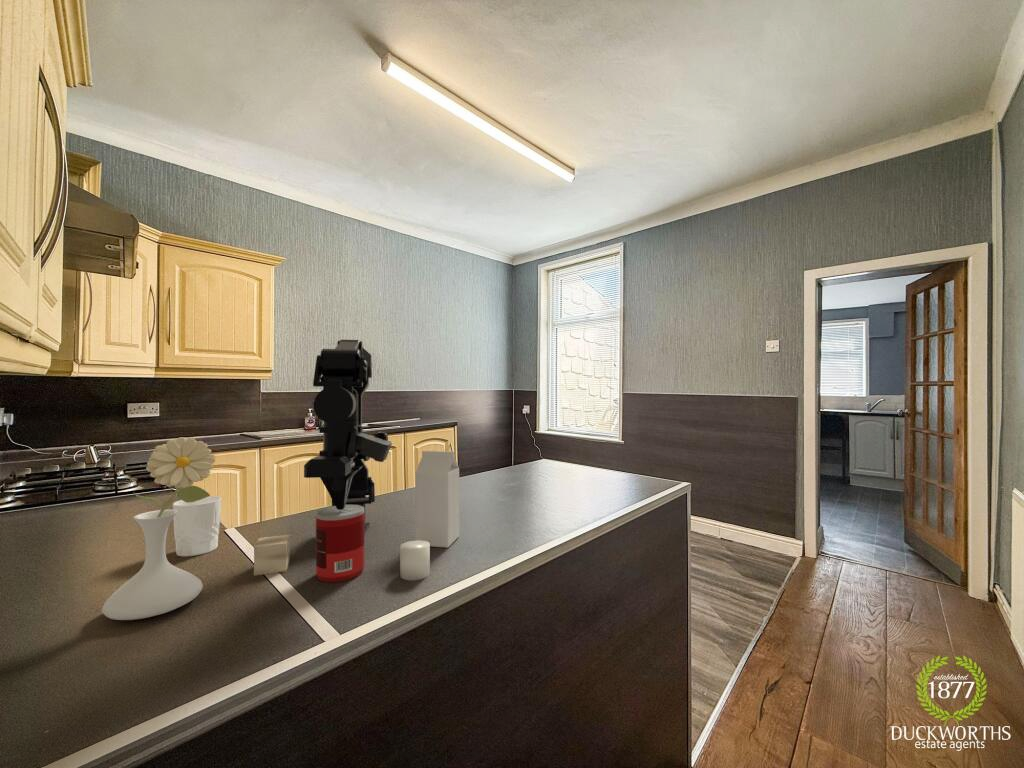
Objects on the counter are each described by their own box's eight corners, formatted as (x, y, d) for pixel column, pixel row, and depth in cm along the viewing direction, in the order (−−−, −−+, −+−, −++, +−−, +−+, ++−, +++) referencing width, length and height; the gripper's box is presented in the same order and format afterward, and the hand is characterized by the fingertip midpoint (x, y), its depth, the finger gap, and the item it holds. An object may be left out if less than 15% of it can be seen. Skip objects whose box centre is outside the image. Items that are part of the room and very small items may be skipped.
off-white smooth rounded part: (402, 569, 77) (402, 541, 77) (430, 567, 77) (430, 539, 77) (398, 581, 72) (398, 551, 72) (428, 579, 72) (428, 549, 72)
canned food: (373, 567, 77) (373, 506, 78) (342, 586, 70) (342, 518, 70) (339, 561, 80) (339, 502, 80) (305, 579, 72) (305, 514, 73)
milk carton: (448, 548, 86) (448, 454, 87) (415, 546, 88) (415, 453, 88) (459, 536, 93) (459, 449, 94) (429, 534, 95) (428, 448, 95)
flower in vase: (84, 637, 56) (86, 444, 56) (122, 598, 66) (124, 436, 66) (205, 615, 61) (206, 439, 61) (222, 583, 71) (223, 432, 72)
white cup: (225, 550, 86) (225, 500, 87) (176, 561, 81) (176, 508, 81) (215, 540, 92) (215, 494, 92) (168, 551, 86) (169, 501, 86)
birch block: (259, 565, 79) (259, 537, 79) (289, 561, 81) (289, 534, 81) (253, 576, 74) (254, 547, 74) (286, 571, 76) (286, 543, 76)
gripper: (377, 422, 67) (377, 523, 67) (396, 416, 86) (396, 495, 85) (302, 424, 66) (302, 526, 66) (338, 417, 84) (338, 497, 84)
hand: (340, 509), depth 75 cm, fingers closed
